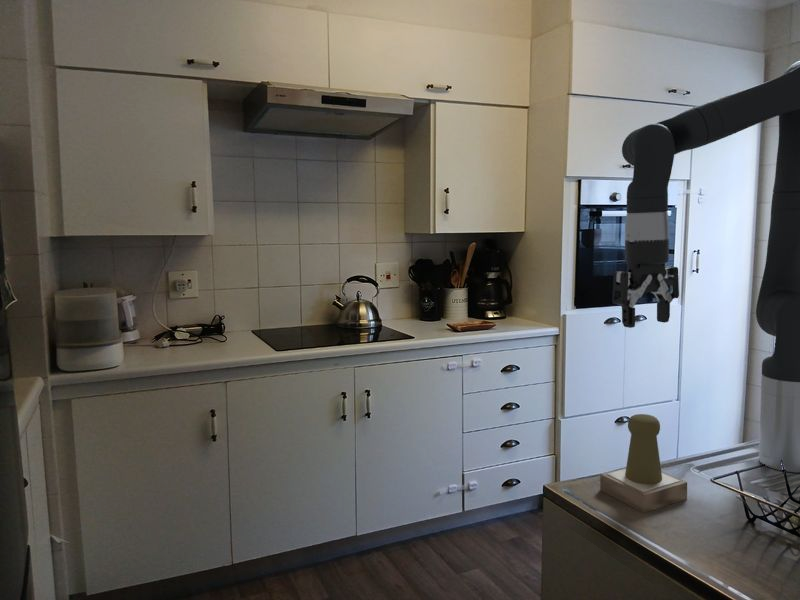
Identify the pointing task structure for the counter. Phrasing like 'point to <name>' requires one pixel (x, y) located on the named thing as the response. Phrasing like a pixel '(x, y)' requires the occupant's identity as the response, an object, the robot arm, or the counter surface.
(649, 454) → the cork
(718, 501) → the counter surface
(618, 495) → the base block
